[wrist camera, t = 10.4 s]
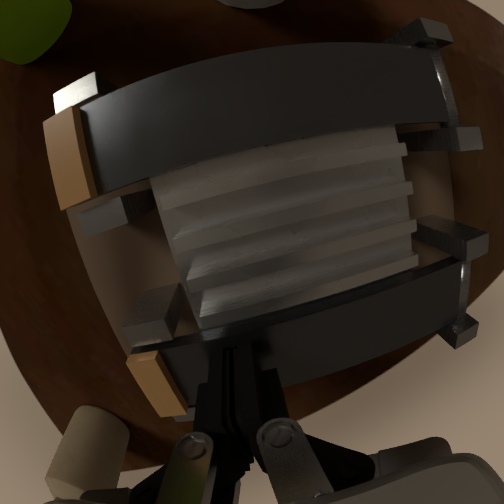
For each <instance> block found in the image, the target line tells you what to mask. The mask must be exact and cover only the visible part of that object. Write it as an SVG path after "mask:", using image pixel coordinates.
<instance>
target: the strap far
mask: <svg viewBox="0 0 504 504" xmlns="http://www.w3.org/2000/svg"><path fill="white" fill-rule="evenodd" d="M470 271H471V261H469V262H467V263H466V262H464V261H462V260H460V259H458V258H456V257H454V256H450V257H447V258H445V259H442V260H440V261H437V262H435V263H432V264H430V265H427V266H424V267H422V268H419V269H416V270H414V271H411V272H408V273H405V274H403V275H400V276H397V277H394V278H391V279H388V280H386V281H383V282H380V283H377V284H374V285H371V286H368V287H365V288H362V289H359V290H356V291H353V292H349V293H346V294H343V295H340V296H337V297H333V298H330V299H327V300H323V301H320V302H317V303H313V304H310V305H306V306H303V307H299V308H296V309H292V310H288V311H285V312H281V313H277V314H274V315H270V316H266V317H262V318H258V319H254V320H250V321H246V322H242V323H238V324H234V325H229V326H225V327H221V328H216V329H212V330H207V331H203V332H198V333H193V334H188V335H184V336H179V337H174V338H173V340H169V341H164V342H159V343H153V344H148V345H142V346H136V347H133V349H132V351H131V353H130V355H129V357H128V359H127V362H126V364H127V366H128V368H129V370H130V371H131V373H132V375H133V376H134V378H135V379H136V381H137V383H138V384H139V386H140V387H141V389H142V391H143V392H144V394H145V395H146V397H147V398H148V400H149V401H150V403H151V404H152V406H153V407H154V409H155V410H156V412H157V413H158V414H159V416H160V417H167V416H178V415H187V411H188V406H189V405H196V398H197V389H198V385H199V384H200V383H206V382H207V381H208V369H209V358H210V351H211V350H215V349H220V348H224V349H225V351H227V350H230V352H231V354H232V357H233V349H236V348H238V344H243V343H247V342H251V343H252V346H253V349H254V352H255V355H256V358H257V361H258V365H259V368H260V371H265V370H269V369H273V368H277V371H278V374H279V378H280V382H281V385H282V388H283V387H287V386H291V385H294V384H298V383H302V382H305V381H309V380H312V379H315V378H319V377H322V376H325V375H328V374H331V373H335V372H338V371H341V370H343V369H346V368H349V367H352V366H355V365H358V364H360V363H363V362H366V361H368V360H371V359H374V358H376V357H379V356H381V355H384V354H386V353H389V352H391V351H393V350H396V349H398V348H400V347H403V346H405V345H407V344H409V343H412V342H414V341H416V340H418V339H420V338H422V337H425V336H427V335H429V334H431V333H433V332H435V331H437V330H439V329H441V328H443V327H445V326H446V325H448V324H450V323H454V324H460V323H462V322H464V320H465V315H466V308H467V301H468V293H469V283H470ZM233 360H234V359H233Z"/></svg>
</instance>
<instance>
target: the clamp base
mask: <svg viewBox="0 0 504 504" xmlns="http://www.w3.org/2000/svg"><path fill="white" fill-rule="evenodd" d="M382 43H383V44H395V45H405V46H413V47H418V46H420V45H424V44H435V45H437V46H438V49H440V48H442V47H444V46H447V45H449V44H452V43H454V41H453V38H452V36H451V34H450V31H449V29H448V27H447V25H446V24H444V23H440V22H437V21H433V20H429V19H425V18H420V17H419V18H418V19H416V20H415V21H413V22H411V23H410V24H408V25H407V26H405V27H404V28H402V29H401V30H399V31H398V32H396V33H395V34H393V35H392V36H391V37H389V38H388V39H386V40H385V41H383V42H382ZM118 89H119V88H118V87H116V86H115V85H113V84H112V83H110V82H109V81H108V80H106V79H105V78H103V77H102V76H100V75H99V74H97V73H96V72H93V73H91V74H89V75H87V76H85V77H83V78H81V79H79V80H77V81H75V82H74V83H72V84H70V85H68V86H67V87H65V88H63V89H61V90H60V91H58V92H56V93H55V94H53V95H54V105H55V113H56V114H57V113H59V112H61V111H62V110H64V109H66V108H68V107H69V106H71V105H72V106H74V107H77V108H80V107H82V106H84V105H86V104H88V103H90V102H92V101H94V100H96V99H98V98H101V97H103V96H105V95H107V94H109V93H111V92H114V91H116V90H118ZM478 149H483V144H482V138H481V132H480V127H454V128H440V124H439V123H424V124H408V125H395V126H384V127H374V128H365V129H357V130H350V131H343V132H336V133H329V134H323V135H317V136H311V137H305V138H300V139H295V140H290V141H285V142H280V143H275V144H270V145H266V146H261V147H257V148H252V149H248V150H244V151H240V152H236V153H232V154H228V155H224V156H220V157H217V158H213V159H209V160H206V161H202V162H199V163H195V164H192V165H189V166H185V167H182V168H179V169H176V170H172V171H169V172H166V173H163V174H160V175H157V176H154V177H151V178H148V179H145V180H142V181H140V182H137V183H134V184H131V185H129V186H126V187H123V188H120V189H118V190H115V191H113V192H110V193H107V194H105V195H102V196H100V197H97V198H95V199H93V200H90V201H88V202H85V203H83V204H81V205H78V206H75V207H71V208H68V209H66V211H67V214H68V217H69V221H70V224H71V227H72V230H73V233H74V236H75V239H76V242H77V245H78V248H79V251H80V254H81V257H82V259H83V262H84V265H85V267H86V270H87V272H88V275H89V277H90V280H91V282H92V285H93V287H94V290H95V292H96V294H97V297H98V299H99V301H100V303H101V305H102V308H103V310H104V312H105V314H106V316H107V318H108V320H109V323H110V325H111V327H112V329H113V331H114V333H115V335H116V336H117V338H118V340H119V342H120V344H121V346H122V348H123V350H124V352H125V353H126V355H127V357H129V355H130V353H131V351H132V349H133V347H136V346H142V345H148V344H153V343H159V342H164V341H169V340H173V338H174V337H179V336H184V335H188V334H193V333H198V332H203V331H207V330H212V329H216V328H221V327H225V326H229V325H234V324H238V323H242V322H246V321H250V320H254V319H258V318H262V317H266V316H270V315H274V314H277V313H281V312H285V311H288V310H292V309H296V308H299V307H303V306H306V305H310V304H313V303H317V302H320V301H323V300H327V299H330V298H333V297H337V296H340V295H343V294H346V293H349V292H353V291H356V290H359V289H362V288H365V287H368V286H371V285H374V284H377V283H380V282H383V281H386V280H388V279H391V278H394V277H397V276H400V275H403V274H405V273H408V272H411V271H414V270H416V269H419V268H422V267H424V266H427V265H430V264H432V263H435V262H437V261H440V260H442V259H445V258H447V257H450V256H454V257H456V258H458V259H460V260H462V261H464V262H466V263H467V262H469V261H471V260H473V259H475V258H478V257H480V256H482V255H484V254H486V253H488V240H489V233H488V232H485V231H482V230H480V229H477V228H474V227H471V226H468V225H465V224H462V223H459V222H455V221H454V203H453V191H452V181H451V173H450V165H449V158H448V152H447V151H468V150H478ZM478 325H479V322H478V321H476V320H475V319H474V318H472V317H471V316H469V315H468V314H467V313H466V315H465V320H464V322H462V323H460V324H454V323H450V324H448V325H446V326H445V327H443V328H441V329H439V330H437V331H435V332H436V333H437V334H438V335H440V336H441V337H442V338H443V339H444V340H445V341H446V342H447V343H448V344H449V345H450V346H452V347H453V348H454V349H457V348H459V347H460V346H462V345H464V344H465V343H467V342H468V341H470V340H472V339H473V338H475V337H476V334H477V330H478ZM195 406H196V405H189V406H188V411H187V415H178V416H173V418H174V419H175V420H176V422H183V421H192V420H194V415H195Z"/></svg>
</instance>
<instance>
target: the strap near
mask: <svg viewBox="0 0 504 504" xmlns="http://www.w3.org/2000/svg"><path fill="white" fill-rule="evenodd" d="M424 123H439V124H440V128H453V127H461V123H460V118H459V114H458V110H457V106H456V102H455V98H454V94H453V91H452V87H451V84H450V81H449V77H448V74H447V71H446V68H445V65H444V63H443V60H442V57H441V54H440V52H439V49H438V46H437V45H435V44H424V45H420V46H418V47H413V46H405V45H395V44H383V43H365V42H326V43H307V44H295V45H285V46H276V47H269V48H262V49H255V50H250V51H244V52H239V53H234V54H229V55H224V56H220V57H215V58H211V59H207V60H203V61H199V62H196V63H192V64H188V65H185V66H182V67H178V68H175V69H172V70H169V71H166V72H163V73H160V74H157V75H154V76H151V77H148V78H146V79H143V80H140V81H138V82H135V83H133V84H130V85H128V86H125V87H123V88H121V89H118V90H116V91H114V92H111V93H109V94H107V95H105V96H103V97H101V98H98V99H96V100H94V101H92V102H90V103H88V104H86V105H84V106H82V107H80V108H77V107H74V106H72V105H71V106H69V107H68V108H66V109H64V110H62V111H61V112H59V113H57V114H56V115H54V116H52V117H51V118H49V119H47V120H46V121H44V122H43V127H44V134H45V141H46V147H47V152H48V158H49V163H50V168H51V173H52V177H53V181H54V186H55V190H56V194H57V198H58V201H59V205H60V209H61V210H65V209H68V208H71V207H75V206H78V205H81V204H83V203H85V202H88V201H90V200H93V199H95V198H97V197H100V196H102V195H105V194H107V193H110V192H113V191H115V190H118V189H120V188H123V187H126V186H129V185H131V184H134V183H137V182H140V181H142V180H145V179H148V178H151V177H154V176H157V175H160V174H163V173H166V172H169V171H172V170H176V169H179V168H182V167H185V166H189V165H192V164H195V163H199V162H202V161H206V160H209V159H213V158H217V157H220V156H224V155H228V154H232V153H236V152H240V151H244V150H248V149H252V148H257V147H261V146H266V145H270V144H275V143H280V142H285V141H290V140H295V139H300V138H305V137H311V136H317V135H323V134H329V133H336V132H343V131H350V130H357V129H365V128H374V127H384V126H395V125H408V124H424Z"/></svg>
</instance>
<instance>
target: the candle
mask: <svg viewBox="0 0 504 504" xmlns="http://www.w3.org/2000/svg"><path fill="white" fill-rule="evenodd" d="M129 437H130V432H129V429H128V428H127V426H126V425H125V424H124V423H123V422H122V421H121V420H120V419H119V418H118V417H116V416H115V415H113V414H112V413H110V412H108V411H106V410H104V409H102V408H99V407H96V406H91V405H83V406H80V407H79V408H78V409H77V410H76V411H75V413H74V415H73V417H72V419H71V421H70V423H69V425H68V427H67V429H66V431H65V433H64V436H63V438H62V440H61V442H60V445H59V447H58V449H57V451H56V453H55V455H54V458H53V460H52V463H51V465H50V467H49V469H48V472H47V474H46V477H45V480H46V483H47V485H48V487H49V489H50V491H51V493H52V495H53V498H54V500H60V499H77V500H79V498H80V496H81V495H82V493H84V492H85V491H88V490H100V489H115V488H117V484H118V480H119V476H120V472H121V468H122V464H123V460H124V456H125V453H126V449H127V445H128V441H129Z"/></svg>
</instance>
